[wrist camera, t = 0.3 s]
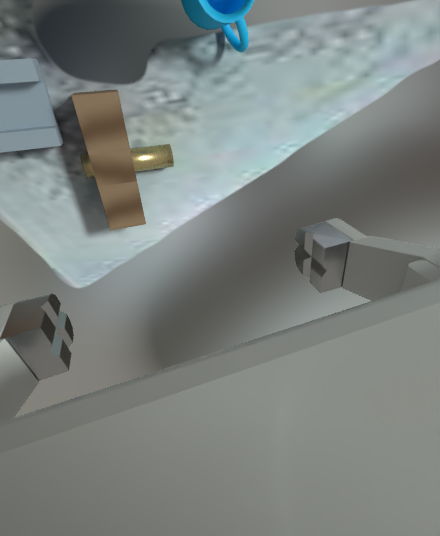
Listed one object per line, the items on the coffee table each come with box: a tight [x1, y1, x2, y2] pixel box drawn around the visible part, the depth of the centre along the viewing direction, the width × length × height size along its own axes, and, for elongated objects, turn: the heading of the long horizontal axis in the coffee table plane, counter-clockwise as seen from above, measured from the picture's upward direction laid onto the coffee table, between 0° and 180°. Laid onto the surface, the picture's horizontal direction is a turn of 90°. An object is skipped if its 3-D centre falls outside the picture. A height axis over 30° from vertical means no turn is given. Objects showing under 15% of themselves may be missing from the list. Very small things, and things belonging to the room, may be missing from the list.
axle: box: [81, 144, 174, 178], centre depth 49 cm, size 4×14×4 cm, turn 93°
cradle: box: [0, 59, 64, 153], centre depth 41 cm, size 10×9×4 cm
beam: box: [71, 90, 146, 230], centre depth 48 cm, size 20×6×5 cm, turn 3°
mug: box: [181, 0, 254, 52], centre depth 40 cm, size 12×8×8 cm
